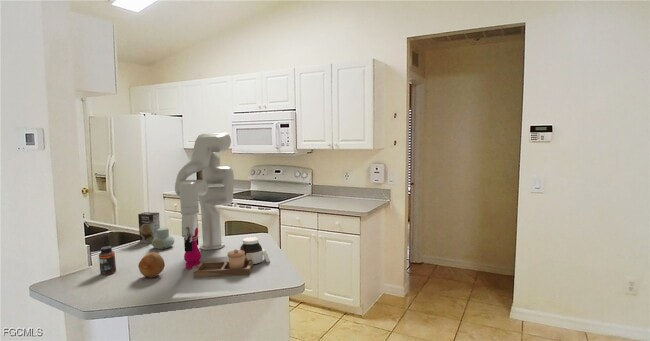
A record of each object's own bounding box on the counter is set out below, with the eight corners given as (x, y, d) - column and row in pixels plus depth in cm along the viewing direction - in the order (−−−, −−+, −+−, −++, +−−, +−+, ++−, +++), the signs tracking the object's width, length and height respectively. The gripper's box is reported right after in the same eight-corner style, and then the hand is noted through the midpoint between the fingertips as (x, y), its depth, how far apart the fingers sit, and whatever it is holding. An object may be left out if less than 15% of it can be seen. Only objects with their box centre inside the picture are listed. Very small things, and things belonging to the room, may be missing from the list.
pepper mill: (196, 269, 163) (193, 224, 161) (181, 268, 164) (178, 224, 162) (204, 264, 170) (202, 220, 168) (190, 263, 171) (187, 220, 170)
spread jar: (238, 264, 168) (236, 239, 167) (258, 258, 176) (257, 234, 175) (254, 270, 160) (252, 243, 159) (274, 263, 168) (273, 238, 167)
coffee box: (139, 242, 208) (137, 214, 207) (146, 239, 215) (144, 211, 213) (154, 243, 207) (152, 214, 205) (161, 240, 213) (159, 212, 212)
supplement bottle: (113, 269, 166) (112, 244, 165) (118, 272, 161) (116, 247, 160) (98, 273, 161) (96, 247, 160) (102, 276, 157) (100, 250, 156)
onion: (139, 274, 159) (138, 251, 158) (165, 270, 162) (163, 248, 162) (138, 282, 150) (136, 258, 149) (165, 278, 154) (163, 254, 153)
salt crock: (229, 268, 160) (228, 247, 159) (246, 267, 160) (245, 246, 160) (227, 274, 153) (225, 252, 152) (244, 273, 153) (243, 251, 153)
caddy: (201, 270, 161) (200, 262, 161) (252, 268, 163) (252, 260, 162) (194, 280, 150) (193, 271, 150) (249, 277, 152) (249, 268, 151)
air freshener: (149, 249, 195) (148, 230, 194) (159, 244, 203) (158, 226, 202) (167, 250, 193) (166, 231, 192) (177, 245, 201) (176, 227, 200)
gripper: (186, 207, 173) (188, 243, 174) (174, 214, 156) (177, 254, 157) (203, 206, 174) (205, 242, 175) (193, 213, 156) (195, 253, 158)
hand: (191, 248), depth 166 cm, fingers open, 9 cm apart
